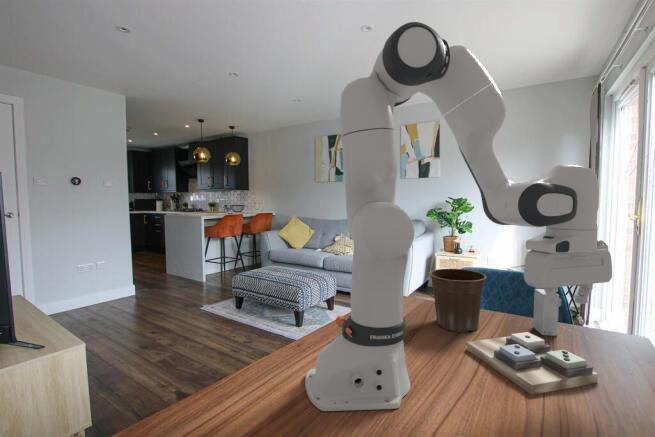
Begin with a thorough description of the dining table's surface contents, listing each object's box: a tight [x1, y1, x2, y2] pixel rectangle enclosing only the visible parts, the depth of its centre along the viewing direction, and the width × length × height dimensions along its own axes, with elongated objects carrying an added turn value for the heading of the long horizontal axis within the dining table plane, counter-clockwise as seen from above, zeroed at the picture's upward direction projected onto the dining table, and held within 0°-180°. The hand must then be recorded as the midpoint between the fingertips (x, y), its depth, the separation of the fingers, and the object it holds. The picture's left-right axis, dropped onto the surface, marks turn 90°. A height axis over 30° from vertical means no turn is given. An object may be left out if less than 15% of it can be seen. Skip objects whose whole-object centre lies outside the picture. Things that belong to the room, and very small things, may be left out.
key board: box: [466, 335, 599, 396], centre depth 76 cm, size 17×20×4 cm
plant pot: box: [429, 268, 487, 333], centre depth 100 cm, size 16×16×16 cm
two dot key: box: [500, 344, 535, 363], centre depth 74 cm, size 5×5×2 cm
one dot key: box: [510, 331, 546, 348], centre depth 80 cm, size 5×5×2 cm
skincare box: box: [532, 288, 560, 337], centre depth 94 cm, size 6×4×12 cm
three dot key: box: [546, 349, 587, 370], centre depth 71 cm, size 5×5×2 cm
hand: (567, 304), depth 70 cm, fingers open, 6 cm apart
